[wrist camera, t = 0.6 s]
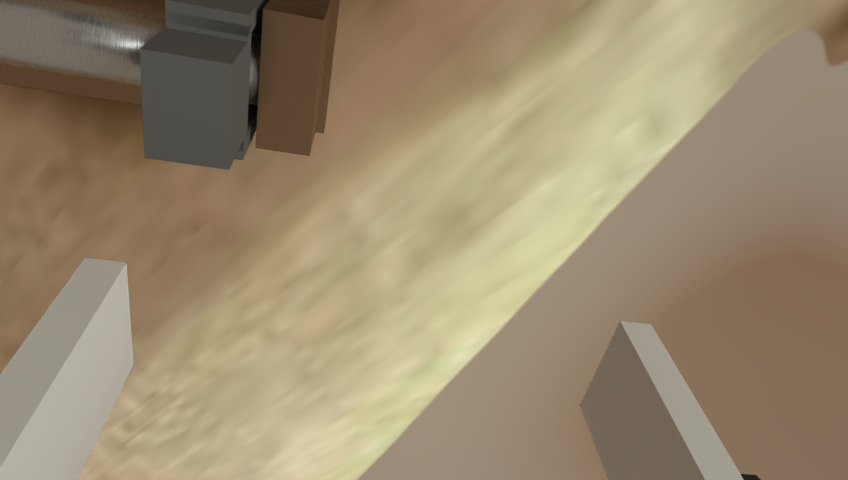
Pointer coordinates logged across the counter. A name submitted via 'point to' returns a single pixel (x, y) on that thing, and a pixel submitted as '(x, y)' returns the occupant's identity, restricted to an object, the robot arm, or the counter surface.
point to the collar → (200, 82)
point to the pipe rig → (141, 21)
